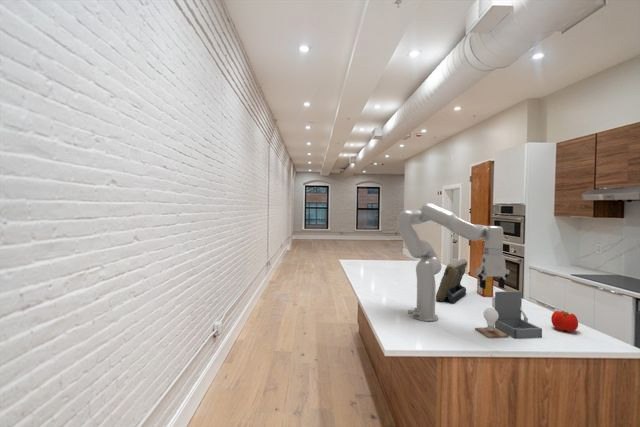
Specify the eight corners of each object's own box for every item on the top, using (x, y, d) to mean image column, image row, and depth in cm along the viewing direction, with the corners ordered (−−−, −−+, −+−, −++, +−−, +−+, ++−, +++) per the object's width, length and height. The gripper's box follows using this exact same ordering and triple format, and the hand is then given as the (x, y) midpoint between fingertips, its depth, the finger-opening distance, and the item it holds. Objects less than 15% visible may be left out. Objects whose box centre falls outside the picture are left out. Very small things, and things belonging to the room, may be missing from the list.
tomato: (545, 325, 160) (546, 309, 160) (567, 326, 160) (568, 309, 160) (561, 334, 150) (561, 316, 149) (584, 334, 149) (585, 316, 149)
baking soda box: (477, 293, 222) (477, 270, 222) (486, 293, 222) (487, 270, 222) (483, 296, 213) (483, 273, 213) (492, 297, 212) (493, 273, 212)
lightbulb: (497, 335, 144) (498, 311, 144) (482, 331, 148) (483, 308, 148) (498, 330, 150) (499, 307, 150) (483, 327, 153) (484, 305, 153)
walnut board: (488, 338, 143) (488, 336, 143) (474, 329, 153) (474, 327, 153) (508, 337, 145) (508, 335, 145) (493, 329, 154) (493, 327, 154)
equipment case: (514, 338, 143) (515, 299, 143) (494, 327, 157) (495, 291, 157) (542, 337, 145) (543, 298, 145) (519, 326, 159) (520, 290, 159)
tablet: (446, 290, 227) (447, 256, 226) (467, 294, 219) (468, 258, 219) (434, 301, 200) (435, 262, 200) (458, 305, 192) (459, 265, 192)
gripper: (481, 253, 143) (480, 290, 144) (515, 253, 146) (514, 289, 146) (471, 250, 151) (470, 286, 151) (504, 250, 153) (502, 285, 154)
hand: (492, 287), depth 149 cm, fingers open, 9 cm apart
